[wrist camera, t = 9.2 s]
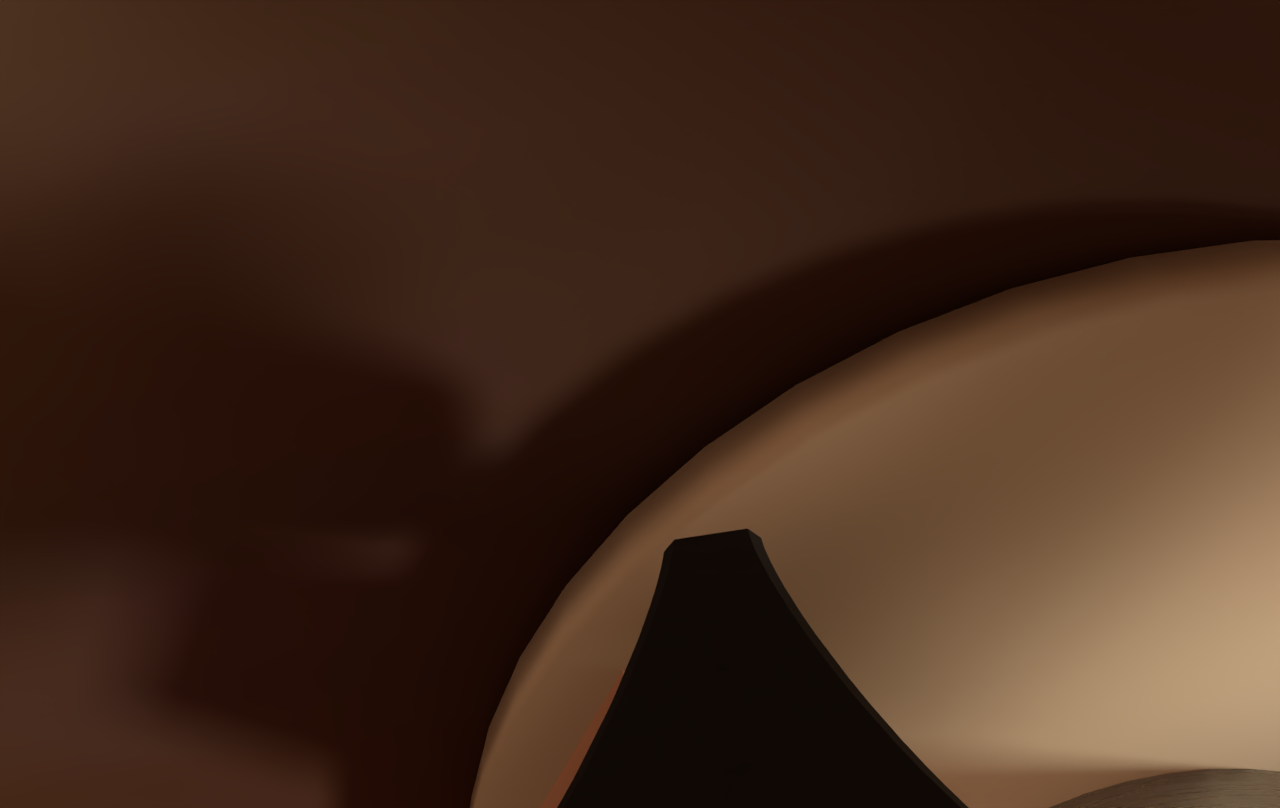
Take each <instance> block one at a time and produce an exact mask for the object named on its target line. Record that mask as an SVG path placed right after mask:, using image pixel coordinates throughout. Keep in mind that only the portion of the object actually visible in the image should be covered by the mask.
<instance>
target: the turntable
mask: <svg viewBox="0 0 1280 808" xmlns="http://www.w3.org/2000/svg"><path fill="white" fill-rule="evenodd" d="M747 528H748V529H749V530H751V531H752V532H753V533H755V534H756V535H758V536H759V537H761V539H762V542H763V545H764V548H765V550H766V552H767V555H768V557H769V559H770V561H771V563H772V565H773V567H774V569H775V571H776V573H777V575H778V576H779V578H780V580H781V582H782V583H783V585H784V587H785V588H786V590H787V592H788V593H789V595H790V596H791V598H792V599H793V601H794V603H795V604H796V606H797V607H798V609H799V610H800V612H801V614H802V615H803V617H804V618H805V619H806V621H807V622H808V624H809V625H810V627H811V628H812V630H813V631H814V632H815V634H816V635H817V636H818V638H819V639H820V640H821V642H822V643H823V644H824V646H825V647H826V648H827V650H828V651H829V652H830V654H831V655H832V656H833V658H834V659H835V660H836V662H837V663H838V664H839V666H840V667H841V668H842V669H843V671H844V672H845V673H846V675H847V676H848V677H849V679H850V680H851V681H852V682H853V684H854V685H855V686H856V687H857V688H858V690H859V691H860V692H861V693H862V695H863V696H864V697H865V698H866V699H867V701H868V702H869V703H870V704H871V705H872V706H873V708H874V709H875V710H876V711H877V712H878V713H879V714H880V716H881V717H882V718H883V719H884V720H885V721H886V722H887V724H888V725H889V726H890V727H891V728H892V729H893V730H894V731H895V733H896V734H897V735H898V736H899V737H900V738H901V739H902V741H903V742H904V743H905V744H906V745H907V746H908V747H909V748H910V749H911V750H912V751H913V752H914V753H915V754H916V756H917V757H918V758H919V759H920V760H921V761H922V762H923V763H924V764H925V765H926V766H927V767H928V768H929V769H930V770H931V771H932V772H933V773H934V774H935V775H936V776H937V777H938V778H939V779H940V780H941V781H942V782H943V783H944V784H945V785H946V786H947V787H948V788H949V789H950V790H951V791H952V792H953V793H954V794H955V795H956V796H957V797H958V798H959V799H960V800H961V801H962V802H963V803H964V804H965V805H966V806H967V807H968V808H1049V807H1052V806H1055V805H1057V804H1060V803H1062V802H1065V801H1067V800H1070V799H1072V798H1075V797H1078V796H1080V795H1083V794H1085V793H1088V792H1092V791H1095V790H1099V789H1102V788H1106V787H1109V786H1112V785H1116V784H1119V783H1123V782H1126V781H1131V780H1136V779H1141V778H1146V777H1152V776H1157V775H1162V774H1167V773H1176V772H1185V771H1195V770H1205V769H1258V770H1269V771H1280V240H1257V241H1246V242H1238V243H1231V244H1224V245H1217V246H1210V247H1202V248H1195V249H1188V250H1181V251H1174V252H1167V253H1159V254H1152V255H1145V256H1138V257H1131V258H1127V259H1123V260H1119V261H1115V262H1111V263H1107V264H1103V265H1100V266H1096V267H1092V268H1088V269H1084V270H1080V271H1076V272H1073V273H1069V274H1065V275H1061V276H1057V277H1053V278H1050V279H1046V280H1042V281H1038V282H1034V283H1030V284H1026V285H1023V286H1019V287H1015V288H1011V289H1008V290H1006V291H1003V292H1001V293H998V294H995V295H993V296H990V297H988V298H985V299H982V300H980V301H977V302H975V303H972V304H969V305H967V306H964V307H961V308H959V309H956V310H954V311H951V312H948V313H946V314H943V315H941V316H938V317H935V318H933V319H930V320H928V321H925V322H922V323H920V324H917V325H915V326H912V327H909V328H907V329H904V330H902V331H899V332H897V333H895V334H893V335H891V336H889V337H887V338H885V339H883V340H881V341H880V342H878V343H876V344H874V345H872V346H870V347H868V348H866V349H864V350H862V351H860V352H858V353H857V354H855V355H853V356H851V357H849V358H847V359H845V360H843V361H841V362H839V363H837V364H835V365H834V366H832V367H830V368H828V369H826V370H824V371H822V372H820V373H818V374H816V375H814V376H812V377H811V378H809V379H807V380H805V381H803V382H801V383H799V384H797V385H795V386H794V387H792V388H791V389H789V390H788V391H786V392H785V393H783V394H782V395H780V396H779V397H777V398H776V399H775V400H773V401H772V402H770V403H769V404H767V405H766V406H764V407H763V408H761V409H760V410H758V411H757V412H755V413H754V414H753V415H751V416H750V417H748V418H747V419H745V420H744V421H742V422H741V423H739V424H738V425H736V426H735V427H733V428H732V429H730V430H729V431H728V432H726V433H725V434H723V435H722V436H720V437H719V438H717V439H716V440H714V441H713V442H711V443H710V444H708V445H707V446H705V447H704V448H703V449H702V450H701V451H700V452H698V453H697V454H696V455H695V456H694V457H693V458H692V459H690V460H689V461H688V462H687V463H686V464H685V465H684V466H682V467H681V468H680V469H679V470H678V471H677V472H676V473H674V474H673V475H672V476H671V477H670V478H669V479H668V480H667V481H665V482H664V483H663V484H662V485H661V486H660V487H659V488H657V489H656V490H655V491H654V492H653V493H652V494H651V495H649V496H648V497H647V498H646V499H645V500H644V501H643V502H642V503H640V504H639V505H638V506H637V507H636V508H635V509H634V510H632V511H631V512H630V513H629V514H628V515H627V516H626V517H625V518H624V519H623V521H622V522H621V523H620V524H619V525H618V526H617V527H616V529H615V530H614V531H613V532H612V533H611V534H610V536H609V537H608V538H607V539H606V540H605V541H604V542H603V544H602V545H601V546H600V547H599V548H598V549H597V550H596V552H595V553H594V554H593V555H592V556H591V557H590V558H589V560H588V561H587V562H586V563H585V564H584V565H583V566H582V568H581V569H580V570H579V571H578V572H577V573H576V575H575V576H574V577H573V578H572V579H571V580H570V581H569V583H568V584H567V585H566V586H565V588H564V589H563V591H562V592H561V594H560V596H559V597H558V599H557V600H556V602H555V603H554V605H553V606H552V608H551V610H550V611H549V613H548V614H547V616H546V617H545V619H544V620H543V622H542V623H541V625H540V627H539V628H538V630H537V631H536V633H535V634H534V636H533V637H532V639H531V640H530V642H529V644H528V645H527V647H526V648H525V650H524V651H523V653H522V654H521V656H520V658H519V660H518V663H517V665H516V667H515V669H514V672H513V674H512V676H511V678H510V681H509V683H508V685H507V687H506V690H505V692H504V694H503V696H502V699H501V701H500V703H499V705H498V708H497V710H496V712H495V714H494V717H493V719H492V721H491V724H490V726H489V729H488V733H487V737H486V741H485V745H484V749H483V753H482V757H481V761H480V764H479V768H478V772H477V776H476V780H475V784H474V788H473V792H472V797H471V803H470V808H557V807H558V805H559V804H560V802H561V800H562V798H563V797H564V795H565V793H566V791H567V789H568V788H569V786H570V784H571V782H572V780H573V779H574V777H575V775H576V773H577V771H578V769H579V767H580V765H581V763H582V761H583V759H584V757H585V755H586V753H587V751H588V749H589V747H590V745H591V743H592V741H593V739H594V737H595V735H596V733H597V731H598V729H599V727H600V725H601V723H602V721H603V719H604V717H605V715H606V713H607V711H608V709H609V707H610V705H611V703H612V700H613V698H614V696H615V694H616V691H617V689H618V687H619V684H620V682H621V679H622V677H623V675H624V672H625V670H626V667H627V665H628V663H629V660H630V658H631V655H632V653H633V650H634V648H635V646H636V643H637V641H638V638H639V636H640V633H641V630H642V627H643V624H644V622H645V619H646V616H647V613H648V610H649V608H650V604H651V601H652V598H653V595H654V592H655V588H656V585H657V581H658V577H659V574H660V570H661V566H662V560H663V554H664V551H665V550H666V549H667V548H668V546H669V545H670V544H671V543H672V542H673V540H674V539H681V538H687V537H694V536H701V535H707V534H714V533H721V532H727V531H734V530H740V529H747Z"/></svg>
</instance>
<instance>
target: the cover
mask: <svg viewBox="0 0 1280 808" xmlns="http://www.w3.org/2000/svg"><path fill="white" fill-rule="evenodd" d="M1049 808H1280V771H1269V770H1258V769H1205V770H1195V771H1185V772H1176V773H1167V774H1162V775H1157V776H1152V777H1146V778H1141V779H1136V780H1131V781H1126V782H1123V783H1119V784H1116V785H1112V786H1109V787H1106V788H1102V789H1099V790H1095V791H1092V792H1088V793H1085V794H1083V795H1080V796H1078V797H1075V798H1072V799H1070V800H1067V801H1065V802H1062V803H1060V804H1057V805H1055V806H1052V807H1049Z"/></svg>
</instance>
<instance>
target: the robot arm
mask: <svg viewBox="0 0 1280 808" xmlns="http://www.w3.org/2000/svg"><path fill="white" fill-rule="evenodd" d="M557 808H968V807H967V806H966V805H965V804H964V803H963V802H962V801H961V800H960V799H959V798H958V797H957V796H956V795H955V794H954V793H953V792H952V791H951V790H950V789H949V788H948V787H947V786H946V785H945V784H944V783H943V782H942V781H941V780H940V779H939V778H938V777H937V776H936V775H935V774H934V773H933V772H932V771H931V770H930V769H929V768H928V767H927V766H926V765H925V764H924V763H923V762H922V761H921V760H920V759H919V758H918V757H917V756H916V754H915V753H914V752H913V751H912V750H911V749H910V748H909V747H908V746H907V745H906V744H905V743H904V742H903V741H902V739H901V738H900V737H899V736H898V735H897V734H896V733H895V731H894V730H893V729H892V728H891V727H890V726H889V725H888V724H887V722H886V721H885V720H884V719H883V718H882V717H881V716H880V714H879V713H878V712H877V711H876V710H875V709H874V708H873V706H872V705H871V704H870V703H869V702H868V701H867V699H866V698H865V697H864V696H863V695H862V693H861V692H860V691H859V690H858V688H857V687H856V686H855V685H854V684H853V682H852V681H851V680H850V679H849V677H848V676H847V675H846V673H845V672H844V671H843V669H842V668H841V667H840V666H839V664H838V663H837V662H836V660H835V659H834V658H833V656H832V655H831V654H830V652H829V651H828V650H827V648H826V647H825V646H824V644H823V643H822V642H821V640H820V639H819V638H818V636H817V635H816V634H815V632H814V631H813V630H812V628H811V627H810V625H809V624H808V622H807V621H806V619H805V618H804V617H803V615H802V614H801V612H800V610H799V609H798V607H797V606H796V604H795V603H794V601H793V599H792V598H791V596H790V595H789V593H788V592H787V590H786V588H785V587H784V585H783V583H782V582H781V580H780V578H779V576H778V575H777V573H776V571H775V569H774V567H773V565H772V563H771V561H770V559H769V557H768V555H767V552H766V550H765V548H764V545H763V542H762V539H761V537H759V536H758V535H756V534H755V533H753V532H752V531H751V530H749V529H748V528H747V529H740V530H734V531H727V532H721V533H714V534H707V535H701V536H694V537H687V538H681V539H674V540H673V542H672V543H671V544H670V545H669V546H668V548H667V549H666V550H665V551H664V554H663V560H662V566H661V570H660V574H659V577H658V581H657V585H656V588H655V592H654V595H653V598H652V601H651V604H650V608H649V610H648V613H647V616H646V619H645V622H644V624H643V627H642V630H641V633H640V636H639V638H638V641H637V643H636V646H635V648H634V650H633V653H632V655H631V658H630V660H629V663H628V665H627V667H626V670H625V672H624V675H623V677H622V679H621V682H620V684H619V687H618V689H617V691H616V694H615V696H614V698H613V700H612V703H611V705H610V707H609V709H608V711H607V713H606V715H605V717H604V719H603V721H602V723H601V725H600V727H599V729H598V731H597V733H596V735H595V737H594V739H593V741H592V743H591V745H590V747H589V749H588V751H587V753H586V755H585V757H584V759H583V761H582V763H581V765H580V767H579V769H578V771H577V773H576V775H575V777H574V779H573V780H572V782H571V784H570V786H569V788H568V789H567V791H566V793H565V795H564V797H563V798H562V800H561V802H560V804H559V805H558V807H557Z"/></svg>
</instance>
